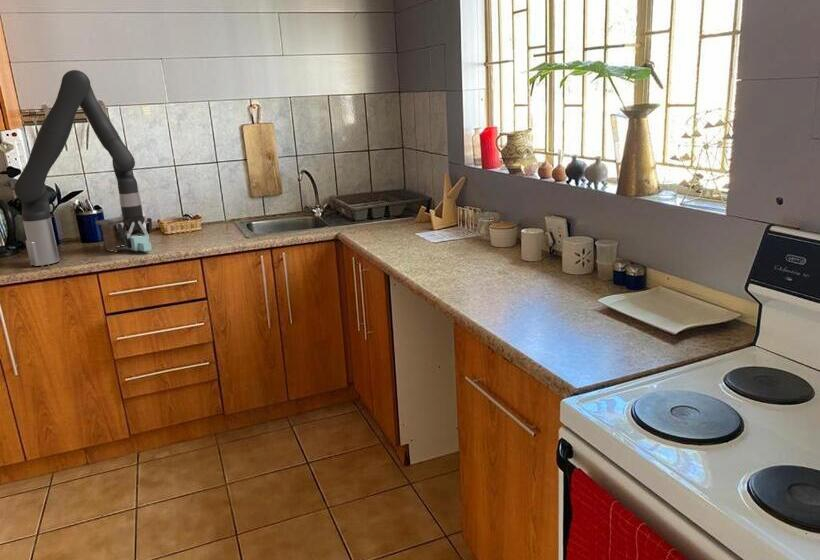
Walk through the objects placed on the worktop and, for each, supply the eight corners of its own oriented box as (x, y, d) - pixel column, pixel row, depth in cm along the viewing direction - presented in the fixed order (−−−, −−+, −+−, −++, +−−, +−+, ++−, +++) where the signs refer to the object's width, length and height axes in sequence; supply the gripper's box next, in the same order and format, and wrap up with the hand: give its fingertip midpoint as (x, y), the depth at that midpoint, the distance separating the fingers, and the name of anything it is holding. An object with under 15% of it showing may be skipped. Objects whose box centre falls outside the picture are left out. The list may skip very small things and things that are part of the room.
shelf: (111, 253, 260) (106, 223, 257) (100, 250, 267) (95, 221, 263) (150, 245, 271) (145, 216, 268) (138, 242, 278) (133, 214, 275)
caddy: (155, 249, 258) (153, 236, 257) (140, 252, 254) (138, 239, 252) (140, 245, 266) (138, 233, 264) (126, 248, 262) (124, 236, 260)
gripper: (117, 208, 249) (124, 251, 253) (152, 202, 259) (159, 243, 264) (108, 206, 254) (115, 248, 258) (143, 200, 264) (150, 241, 268)
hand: (137, 246), depth 261 cm, fingers closed on caddy, 6 cm apart
